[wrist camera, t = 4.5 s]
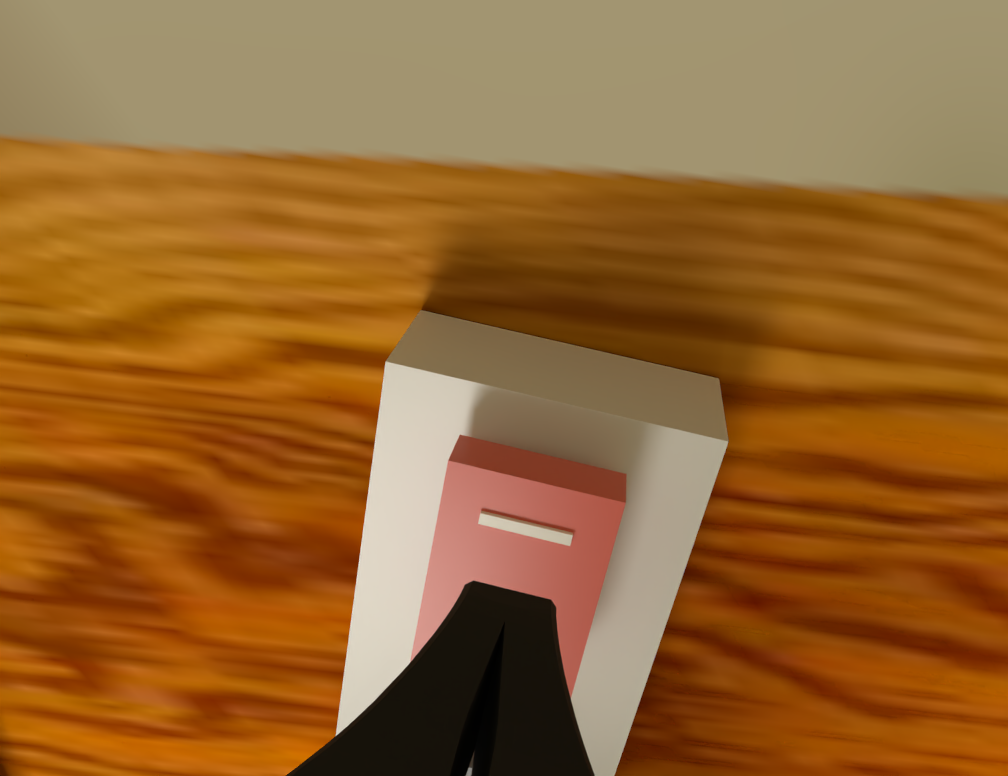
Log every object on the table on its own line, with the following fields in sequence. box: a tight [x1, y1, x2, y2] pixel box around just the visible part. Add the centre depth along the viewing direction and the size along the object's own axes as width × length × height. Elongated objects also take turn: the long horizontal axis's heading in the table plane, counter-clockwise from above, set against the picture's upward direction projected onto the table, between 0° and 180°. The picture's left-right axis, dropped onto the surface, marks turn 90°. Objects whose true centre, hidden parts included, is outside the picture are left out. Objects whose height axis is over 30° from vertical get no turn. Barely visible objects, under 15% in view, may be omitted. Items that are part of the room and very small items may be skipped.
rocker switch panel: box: [336, 310, 729, 776], centre depth 22 cm, size 15×7×3 cm, turn 170°
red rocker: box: [410, 435, 627, 698], centre depth 18 cm, size 5×3×1 cm, turn 170°
